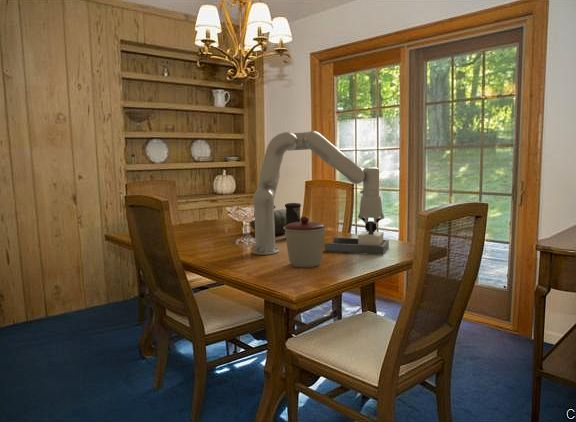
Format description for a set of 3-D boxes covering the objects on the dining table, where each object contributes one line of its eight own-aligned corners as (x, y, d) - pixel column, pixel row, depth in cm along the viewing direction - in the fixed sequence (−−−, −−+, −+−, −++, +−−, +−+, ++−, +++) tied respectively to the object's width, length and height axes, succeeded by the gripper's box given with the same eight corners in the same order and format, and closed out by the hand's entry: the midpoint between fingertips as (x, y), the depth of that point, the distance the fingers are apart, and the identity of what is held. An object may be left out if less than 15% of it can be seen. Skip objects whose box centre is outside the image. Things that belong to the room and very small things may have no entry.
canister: (275, 265, 190) (274, 216, 187) (304, 258, 203) (303, 212, 200) (306, 273, 177) (305, 220, 175) (335, 264, 190) (335, 215, 187)
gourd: (289, 233, 251) (284, 203, 252) (247, 239, 257) (242, 210, 257) (297, 230, 276) (293, 202, 276) (259, 236, 281) (255, 209, 281)
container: (301, 239, 247) (301, 203, 245) (285, 239, 247) (284, 203, 245) (301, 236, 256) (300, 201, 253) (285, 236, 256) (285, 202, 253)
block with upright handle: (379, 251, 208) (379, 223, 207) (358, 249, 212) (358, 222, 210) (383, 246, 218) (383, 220, 217) (363, 245, 222) (363, 219, 221)
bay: (383, 255, 205) (383, 246, 205) (324, 251, 216) (324, 243, 215) (388, 248, 220) (388, 240, 220) (333, 244, 230) (333, 237, 230)
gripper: (352, 193, 211) (352, 232, 214) (386, 194, 205) (386, 233, 208) (356, 192, 218) (356, 229, 221) (389, 192, 212) (389, 230, 215)
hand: (371, 231), depth 214 cm, fingers closed on block with upright handle, 2 cm apart
